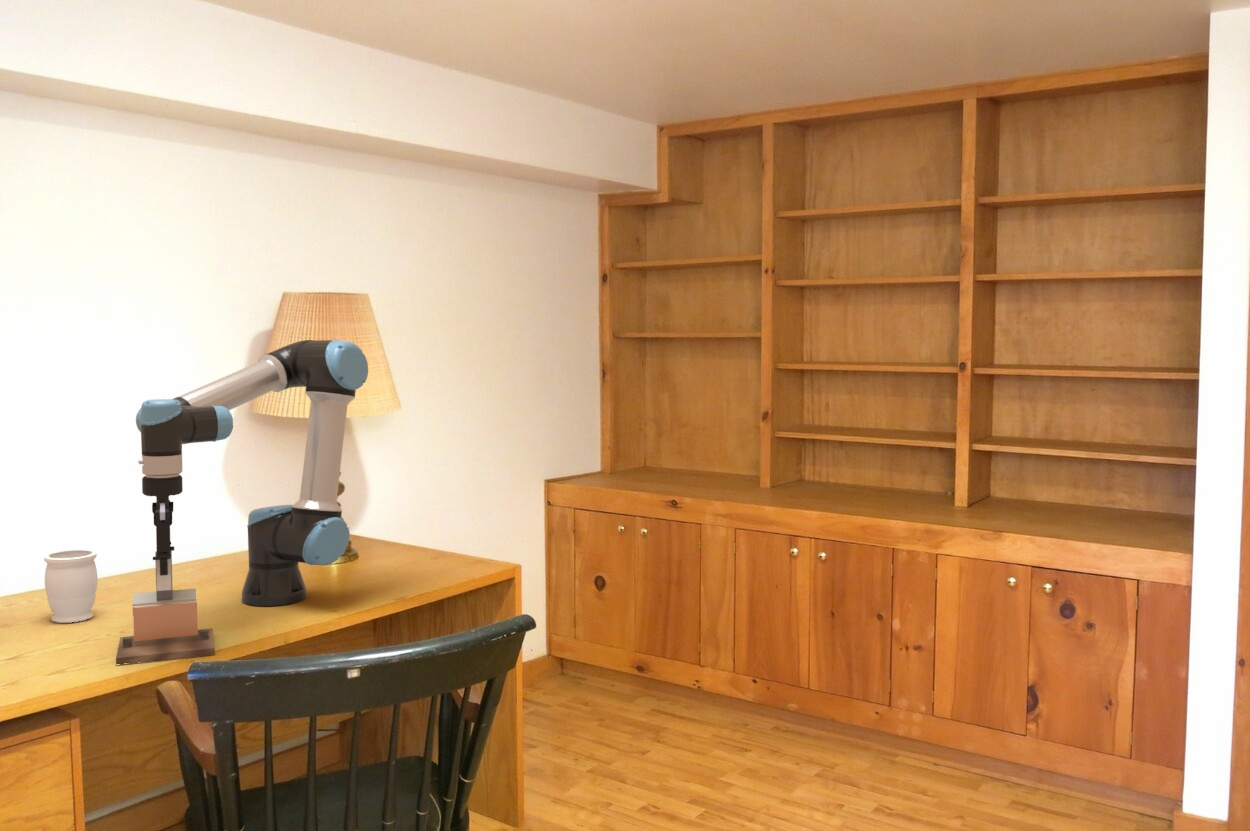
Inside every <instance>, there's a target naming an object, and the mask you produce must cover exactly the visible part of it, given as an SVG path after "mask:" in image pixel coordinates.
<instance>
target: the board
mask: <svg viewBox="0 0 1250 831" xmlns="http://www.w3.org/2000/svg"><path fill="white" fill-rule="evenodd" d="M213 631H214V630H213V628H202V629H201V628H200V629H198V635H192V636H182V637H172V638H162V639H152V640H141V641H134V635H131V636H120V637H119V641H118V647H117V652H116V657H115V665H116V664H124V663H136V664H142V663H141V662H146V663H151V662H150V661H155V662H163V661H162V660H165V661H171V660H172V661H173V660H182V659H190V658H201V657H208V656H215V643H214V635H213V634H214V633H213ZM138 662H140V663H138Z"/></svg>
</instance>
